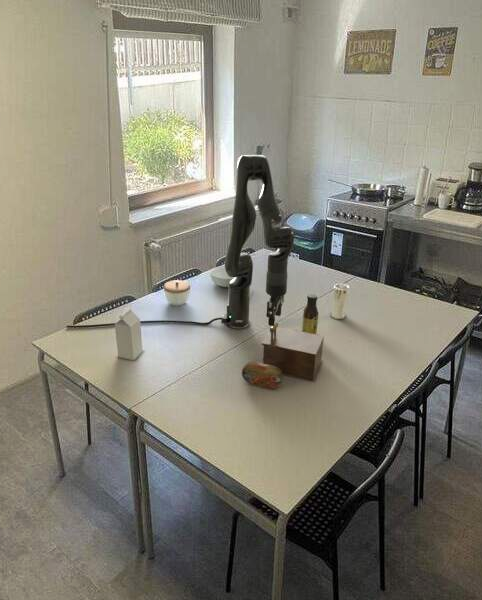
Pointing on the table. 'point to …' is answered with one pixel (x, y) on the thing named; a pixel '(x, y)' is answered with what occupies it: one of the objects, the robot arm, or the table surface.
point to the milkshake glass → (340, 300)
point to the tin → (262, 375)
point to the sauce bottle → (310, 315)
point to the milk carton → (128, 336)
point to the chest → (293, 362)
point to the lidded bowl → (177, 292)
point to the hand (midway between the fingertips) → (274, 320)
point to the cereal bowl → (220, 276)
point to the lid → (293, 340)
